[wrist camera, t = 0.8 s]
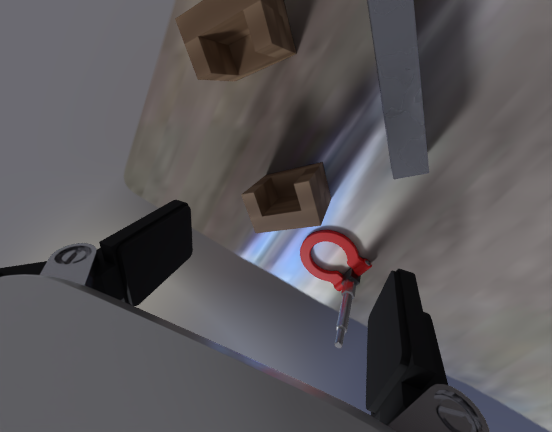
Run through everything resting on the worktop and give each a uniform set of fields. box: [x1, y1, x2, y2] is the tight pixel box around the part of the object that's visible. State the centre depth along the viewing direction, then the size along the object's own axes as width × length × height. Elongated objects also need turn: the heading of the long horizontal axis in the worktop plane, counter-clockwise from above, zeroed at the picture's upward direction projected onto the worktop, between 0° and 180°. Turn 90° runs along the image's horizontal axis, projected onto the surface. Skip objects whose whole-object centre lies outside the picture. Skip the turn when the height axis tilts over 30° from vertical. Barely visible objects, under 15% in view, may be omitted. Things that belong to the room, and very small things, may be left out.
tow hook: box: [300, 230, 372, 348], centre depth 31 cm, size 8×13×9 cm
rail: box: [367, 0, 429, 179], centre depth 23 cm, size 17×3×5 cm, turn 18°
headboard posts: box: [175, 0, 331, 233], centre depth 27 cm, size 22×8×8 cm, turn 18°
